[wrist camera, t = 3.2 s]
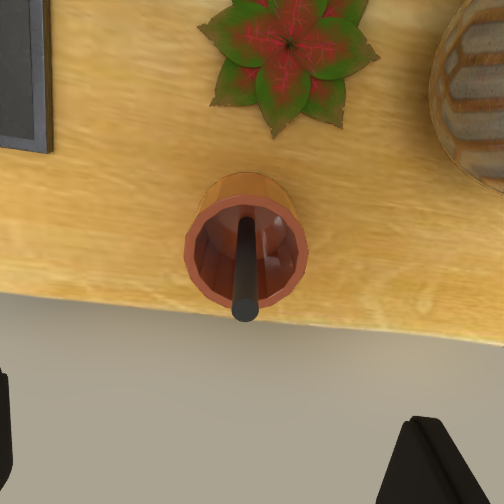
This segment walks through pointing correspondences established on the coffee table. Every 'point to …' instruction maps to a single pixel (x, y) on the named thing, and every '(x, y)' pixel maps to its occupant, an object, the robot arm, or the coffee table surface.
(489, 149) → the vase
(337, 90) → the red green leafy plant
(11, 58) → the tablet
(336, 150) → the coffee table surface
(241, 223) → the stylus
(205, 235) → the pen pot
